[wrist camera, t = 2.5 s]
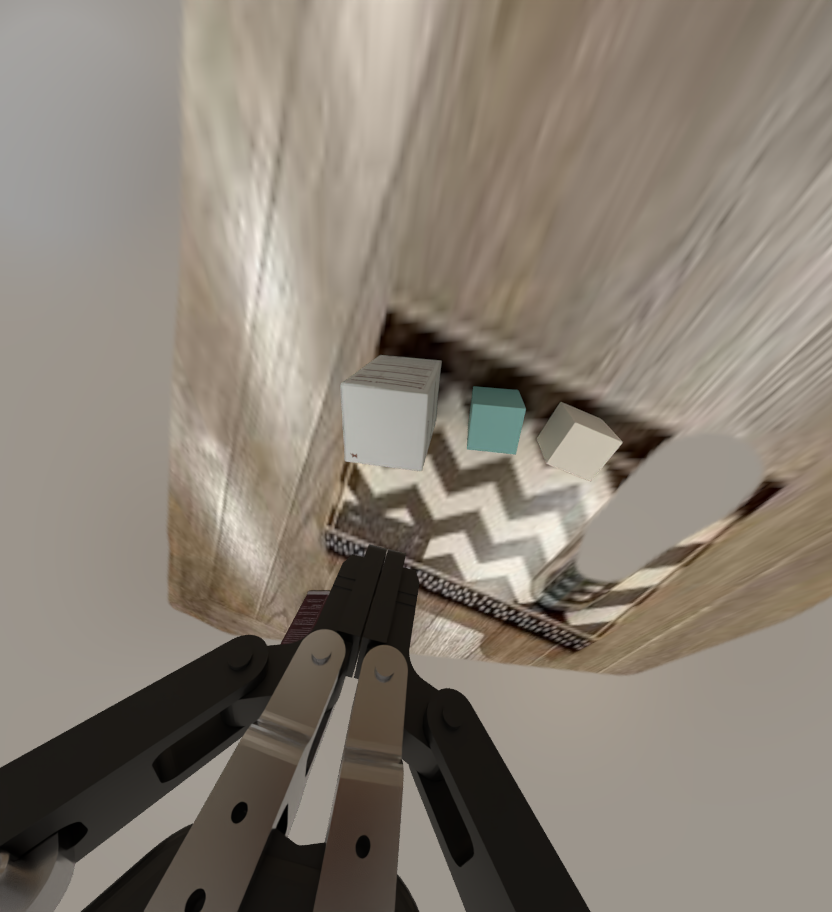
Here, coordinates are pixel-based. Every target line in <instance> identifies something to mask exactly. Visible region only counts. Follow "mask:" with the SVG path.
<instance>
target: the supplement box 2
mask: <svg viewBox="0 0 832 912" xmlns="http://www.w3.org/2000/svg"><path fill="white" fill-rule="evenodd" d="M441 364H442V361H441V360H429V359H418V358H408V357H398V356H387V355H380V356H378V357H377V358H375V359H374V360H373V361H371V362H370V363H368V364H367V365H366V366H364V367H363V368H362V369H360V370H359V371H358V372H356V373H355V374H354V375H352V376H351V377H349V378H348V379H347V380H345V381H344V382H342V383H341V386H340V389H341V404H342V422H343V437H344V453H345V461H346V462H355V463H362V464H369V465H377V466H384V467H391V468H399V469H406V470H414V471H422V469H423V465H424V462H425V458H426V454H427V451H428V447H429V444H430V440H431V437H432V433H433V430H434V426H435V422H436V414H437V402H438V392H439V382H440V372H441Z"/></svg>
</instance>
